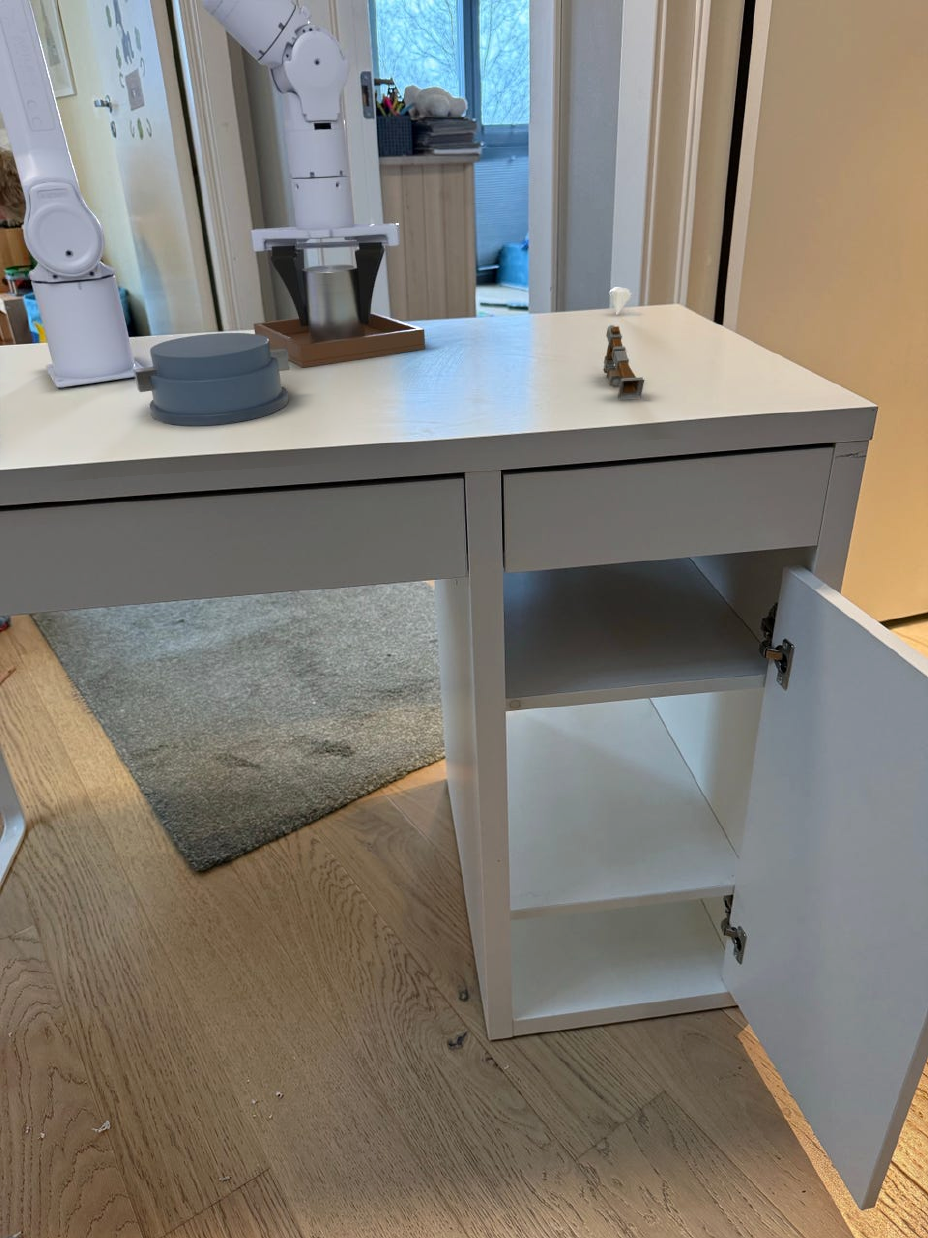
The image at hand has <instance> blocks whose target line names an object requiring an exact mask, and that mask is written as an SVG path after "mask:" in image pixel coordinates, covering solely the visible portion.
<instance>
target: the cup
mask: <svg viewBox="0 0 928 1238" xmlns="http://www.w3.org/2000/svg"><path fill="white" fill-rule="evenodd" d="M302 279H303V287H304V295H305V304H306V312H307V320H308V328H309V337H310V341H311V342H312V343H319V342H326V341H334V340H341V339H348V338H355V337H362V336H365V329H364V324H362V321H361V309H360V287H359V279H358V271H357V265H356V264H345V263H344V264H342V263H341V264H337V263H336V264H322V265H314V266H307V267H304V269H302Z"/></svg>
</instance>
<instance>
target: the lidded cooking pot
mask: <svg viewBox="0 0 928 1238" xmlns="http://www.w3.org/2000/svg"><path fill="white" fill-rule="evenodd" d="M149 353H150V359H151V362H152V366H147V367H143V368H141V369H134V375H135V377H134V379H135V383H136V389H137V390H138V391H139V393H145V392H151V395H152V400H151V401H150V403H149V410H150V411H149V412H150V415H151V417H152V418H153V419H154V420H156V421H158V422H161V423H164V424H168V425H174V426H187V427H189V426H193V427H196V426H198V427H200V426H201V427H202V426H218V425H225V424H226V425H227V424H233V423H234V424H235V423H241V422H245V421H250V420H254V419H258V418H262V417H266V416H268V415H271V414H273V413H275V412H278V411H279V410H282V409H284V408H285V407H286V406H287V405H288V403H289V396H288V391H287V389H286V388H285V387H284V386H282V380H281V374H280V373H281V372H285V371H289V370H291V367H290V360H289V359H288V352H287V350H285V349H276V350H270V346H269V340H268V338H266V337H264V336H261V335H257V334H255V333H247V332H246V333H245V332H219V333H218V332H217V333H206V334H205V333H204V334H198V335H190V336H184V337H179V338H174V339H169V340H165V341H162V342H159V343H157V344H154V345H153V346H152V347H150V349H149Z"/></svg>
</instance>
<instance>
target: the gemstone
mask: <svg viewBox="0 0 928 1238" xmlns="http://www.w3.org/2000/svg"><path fill="white" fill-rule="evenodd" d="M608 294H609V297H610V300H611V303H612V305H613V308H614V311H615V314H616V315H618V314H619V313H620V312H621V311H622V309H624V308H625V305H627V303H628V302H629V301H630V300H631V299H632V297H633V296H634V294H633V293H632V291H631V290H630V289H629V288H626V287H621V286H615V287H613V288H612V289H611V290H610V291H609V292H608Z"/></svg>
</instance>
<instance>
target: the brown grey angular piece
mask: <svg viewBox="0 0 928 1238" xmlns="http://www.w3.org/2000/svg"><path fill="white" fill-rule="evenodd" d="M622 335H623V334H622V333H621V330H620V326H619V325H616V326H615V325H614V324H611V325H608V326H607V330H606V334H605V337H606V338H607V342H608V344H607V345H608V346H607V349H606V354H605V356H604V359H603V364H604V365H603V369H602V370H603V373H604V374H606V376H605V379H608V381H609V383H608V385H609V386H614V387H619V389H618V395H617V397H618V399H617V400H618V401H622V400H639V399H641V398H642V393H643V389H644V384H645V379H644V377H637V376H636V375H635V373H634V372H633V370H632V369H631V367H630V365H629V363H630V359H629V357H628V353H627V348H626V346H625V345H623V342H622V338H623V336H622Z"/></svg>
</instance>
